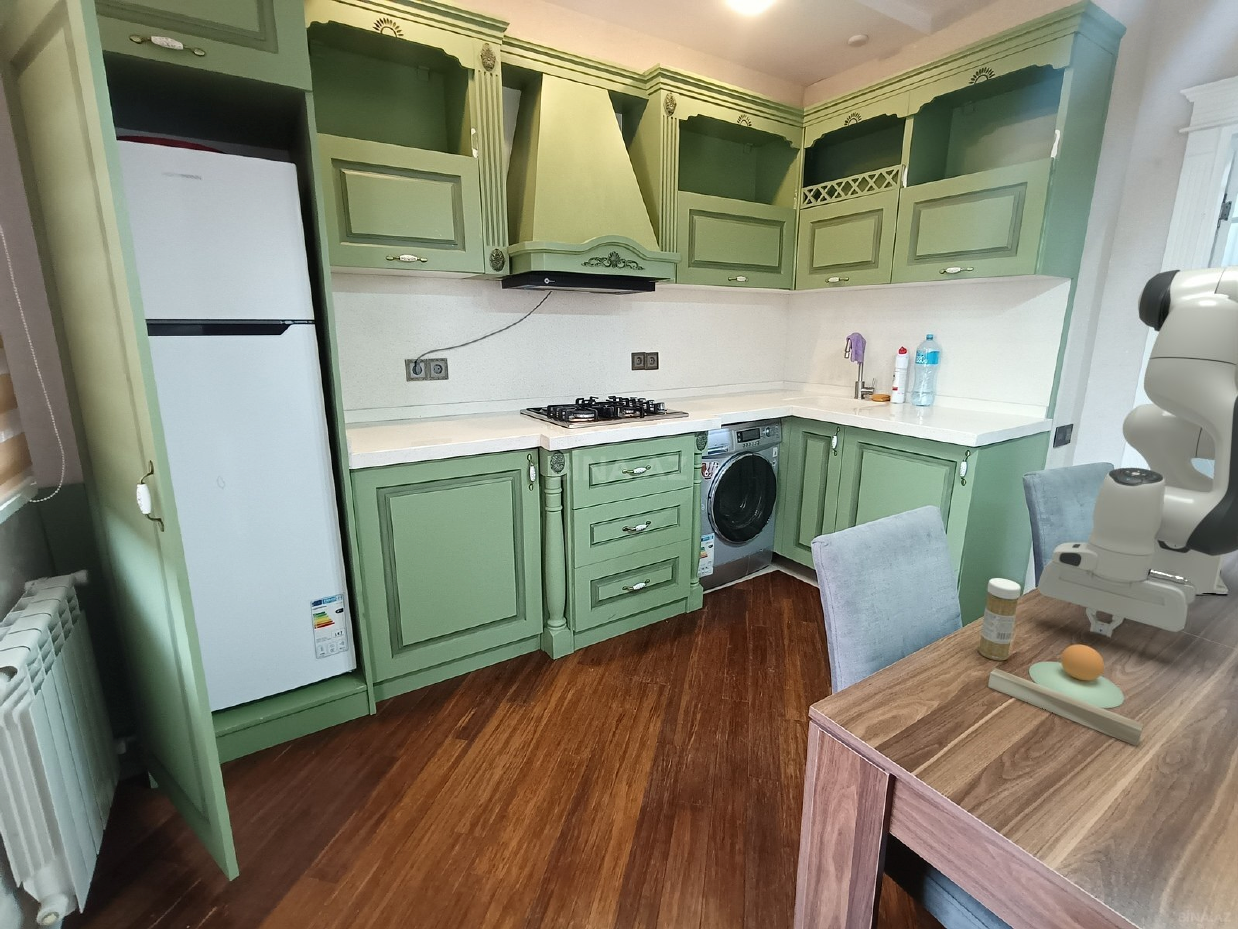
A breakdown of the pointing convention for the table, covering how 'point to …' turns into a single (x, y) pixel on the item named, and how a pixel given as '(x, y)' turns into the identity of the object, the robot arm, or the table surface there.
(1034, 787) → the table surface
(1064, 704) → the rail
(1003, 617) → the sprinkles bottle
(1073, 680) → the disc
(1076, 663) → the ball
